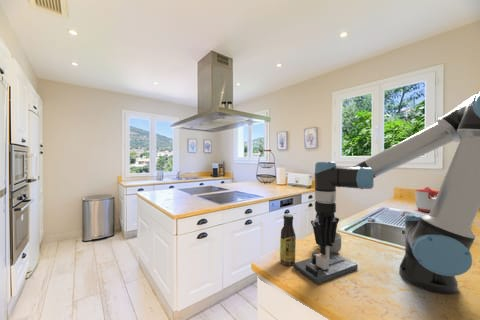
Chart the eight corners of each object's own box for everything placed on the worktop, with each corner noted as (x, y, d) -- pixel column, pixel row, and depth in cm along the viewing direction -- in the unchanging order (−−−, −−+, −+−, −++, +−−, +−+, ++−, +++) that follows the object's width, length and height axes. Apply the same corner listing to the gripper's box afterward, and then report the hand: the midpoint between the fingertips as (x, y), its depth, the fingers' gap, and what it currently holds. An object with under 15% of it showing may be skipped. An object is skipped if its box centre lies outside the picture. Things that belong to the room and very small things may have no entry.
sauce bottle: (286, 268, 80) (286, 218, 80) (277, 261, 86) (276, 214, 86) (299, 264, 83) (298, 216, 83) (288, 257, 89) (288, 212, 89)
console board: (357, 269, 79) (357, 257, 79) (316, 284, 69) (316, 271, 69) (331, 256, 90) (331, 246, 90) (293, 268, 80) (293, 257, 80)
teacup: (344, 257, 89) (344, 239, 89) (318, 255, 91) (318, 237, 91) (336, 244, 102) (335, 228, 102) (313, 242, 104) (313, 227, 104)
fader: (328, 268, 76) (328, 257, 76) (324, 270, 74) (324, 259, 74) (320, 263, 79) (320, 253, 79) (315, 265, 78) (315, 254, 78)
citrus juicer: (422, 213, 158) (422, 188, 158) (411, 208, 174) (411, 185, 174) (447, 215, 153) (447, 188, 153) (433, 209, 170) (433, 186, 170)
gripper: (329, 198, 84) (329, 254, 84) (305, 201, 78) (305, 261, 78) (345, 201, 77) (345, 262, 77) (320, 205, 72) (320, 271, 72)
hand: (325, 262), depth 78 cm, fingers closed
